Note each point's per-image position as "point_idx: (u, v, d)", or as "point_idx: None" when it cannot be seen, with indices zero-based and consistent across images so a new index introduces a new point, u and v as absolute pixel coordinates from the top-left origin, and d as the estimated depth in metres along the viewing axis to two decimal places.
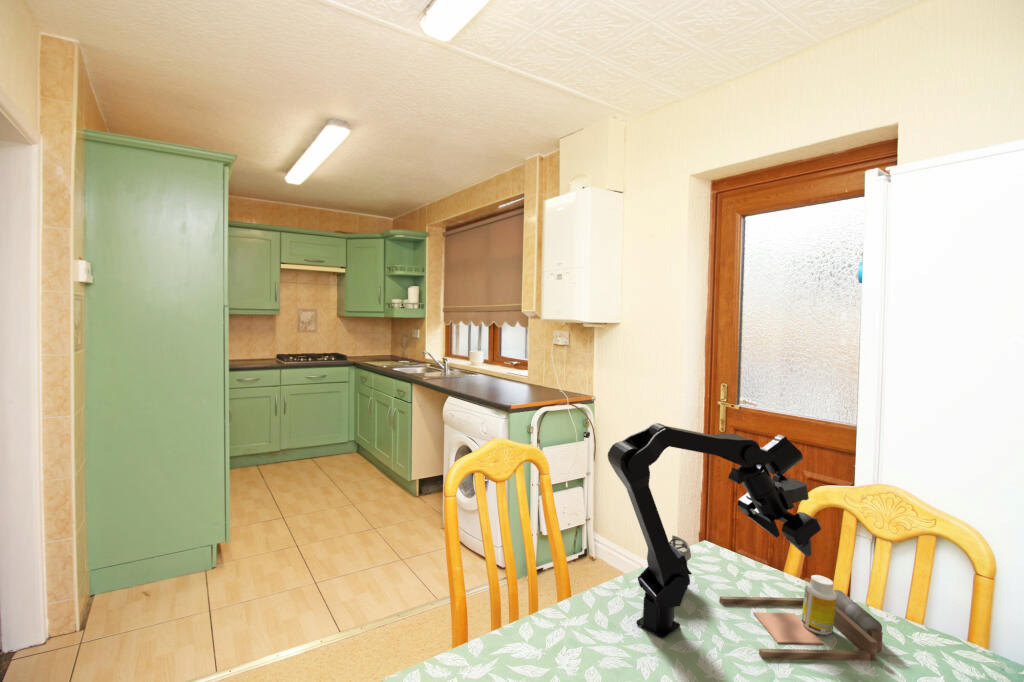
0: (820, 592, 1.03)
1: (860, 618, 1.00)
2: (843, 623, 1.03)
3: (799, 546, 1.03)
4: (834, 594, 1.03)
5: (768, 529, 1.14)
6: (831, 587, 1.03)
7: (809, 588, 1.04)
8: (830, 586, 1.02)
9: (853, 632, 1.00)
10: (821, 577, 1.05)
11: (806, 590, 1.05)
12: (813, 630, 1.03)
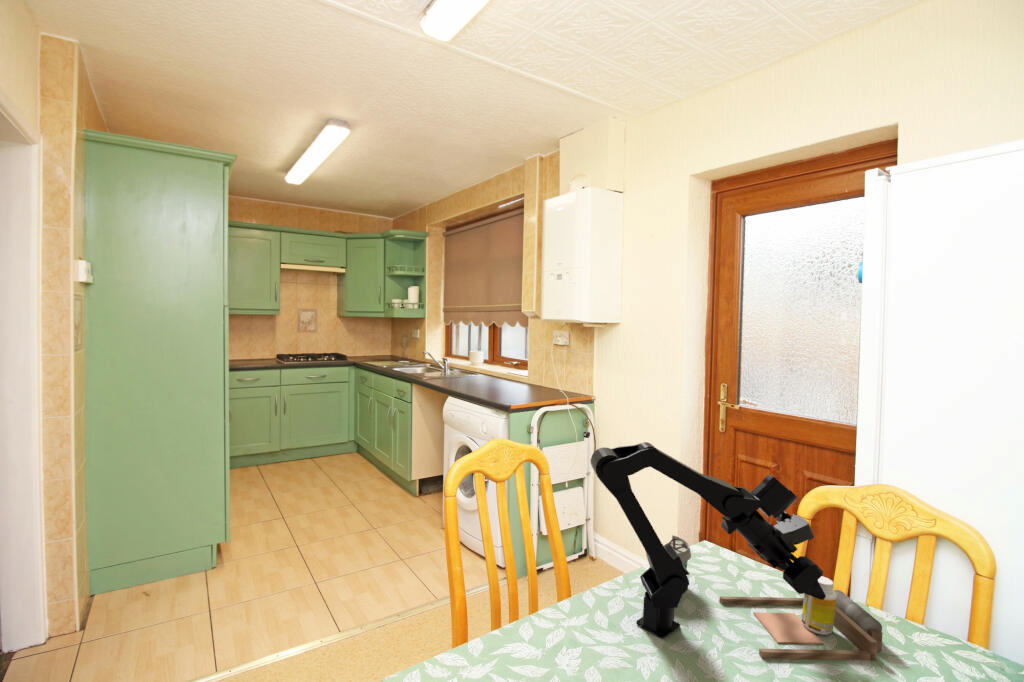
0: None
1: (860, 618, 1.00)
2: (843, 623, 1.03)
3: (807, 592, 0.98)
4: (834, 594, 1.03)
5: (784, 568, 1.09)
6: (831, 587, 1.03)
7: None
8: (830, 586, 1.02)
9: (853, 632, 1.00)
10: (821, 577, 1.05)
11: None
12: (813, 630, 1.03)
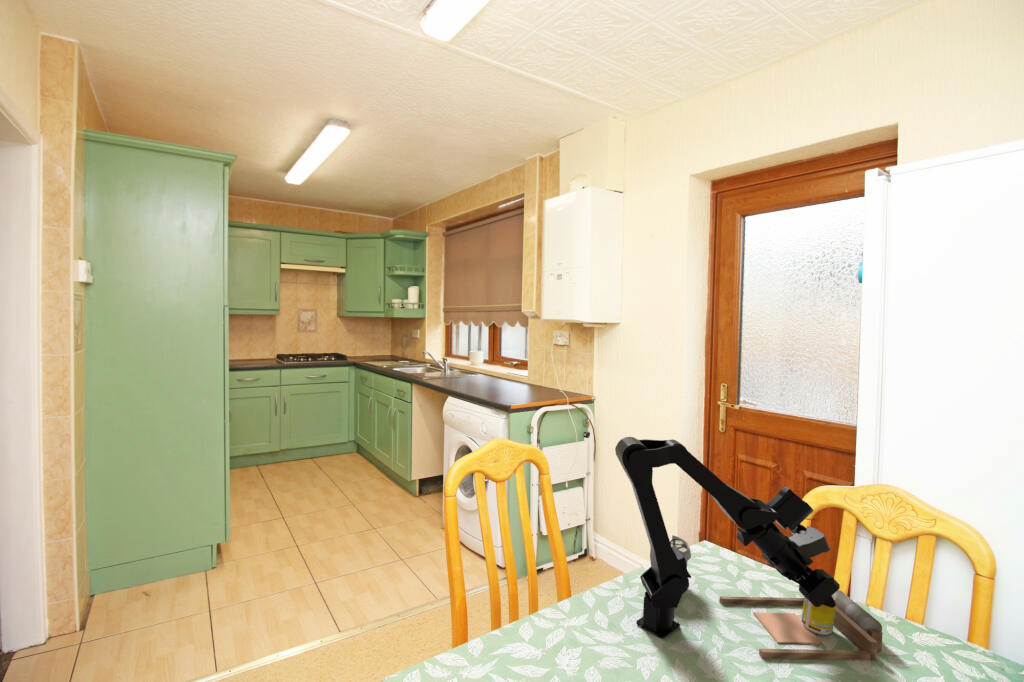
0: None
1: (860, 618, 1.00)
2: (843, 623, 1.03)
3: None
4: (834, 594, 1.03)
5: None
6: None
7: None
8: None
9: (853, 632, 1.00)
10: None
11: None
12: (813, 630, 1.03)
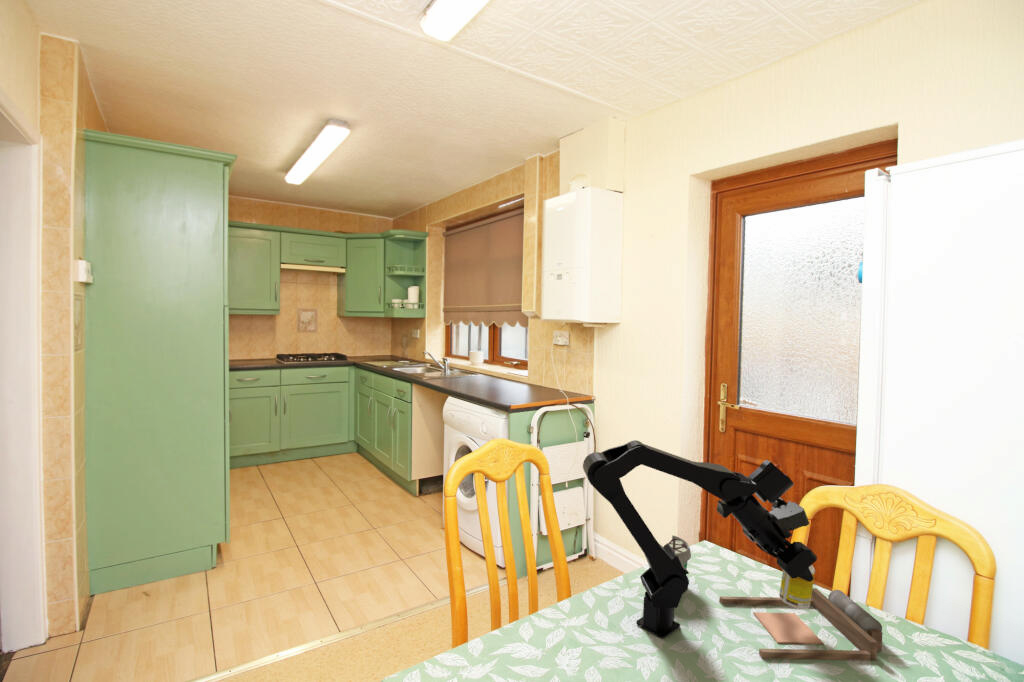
0: None
1: (860, 618, 1.00)
2: (843, 623, 1.03)
3: None
4: (812, 569, 1.02)
5: None
6: None
7: None
8: None
9: (853, 632, 1.00)
10: None
11: None
12: (790, 604, 1.02)
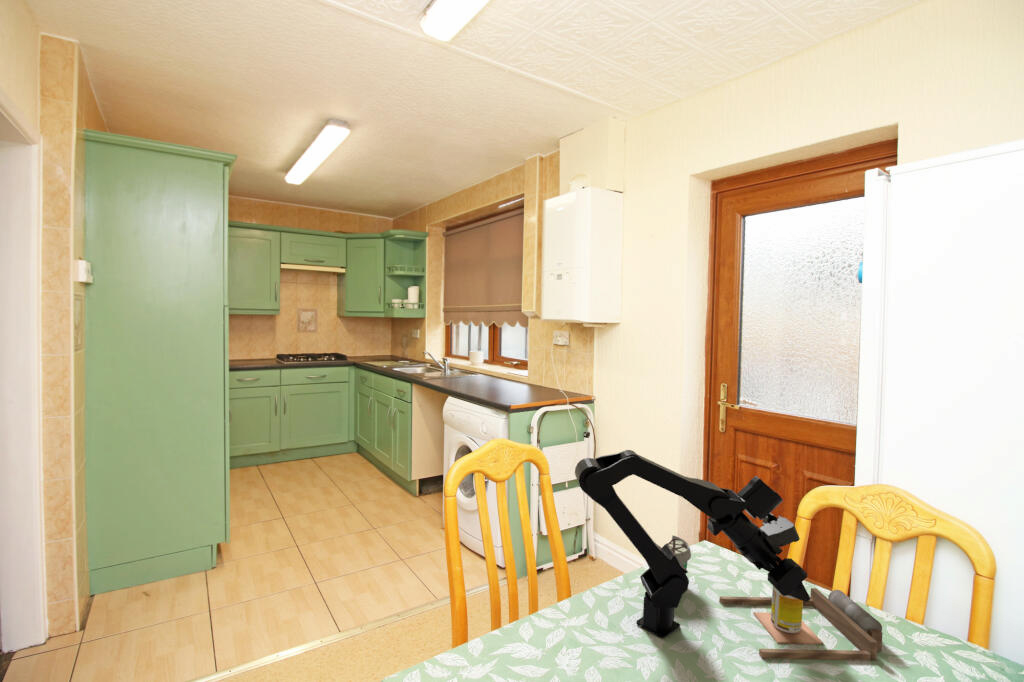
0: None
1: (860, 618, 1.00)
2: (843, 623, 1.03)
3: (791, 594, 0.98)
4: None
5: (770, 570, 1.09)
6: None
7: None
8: None
9: (853, 632, 1.00)
10: None
11: (773, 589, 1.05)
12: (782, 629, 1.03)
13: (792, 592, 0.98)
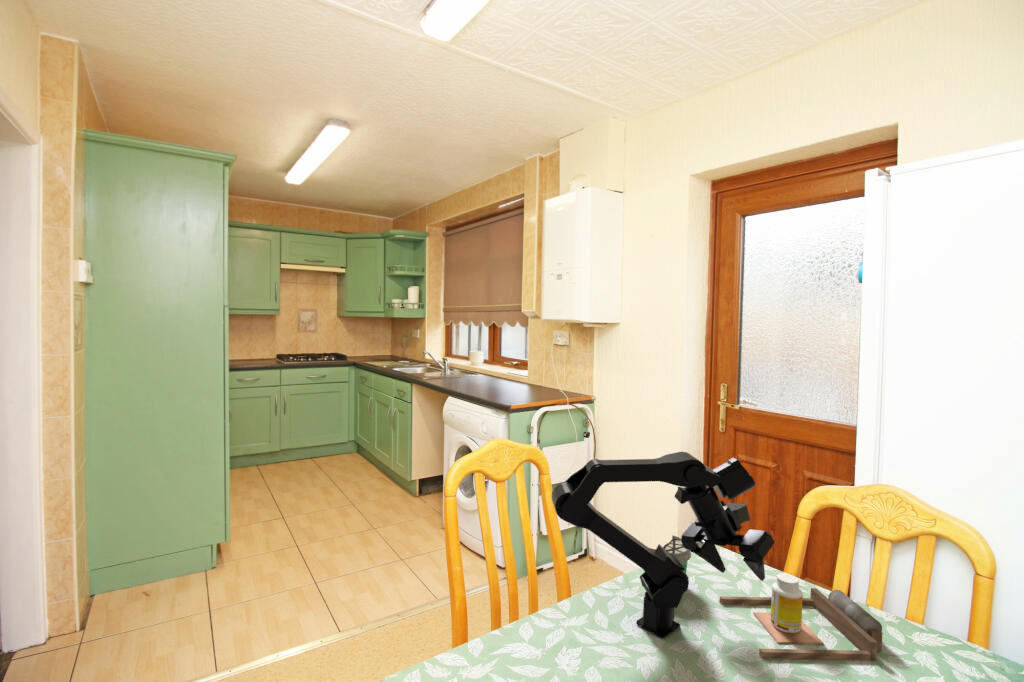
0: (786, 591, 1.03)
1: (860, 618, 1.00)
2: (843, 623, 1.03)
3: (756, 567, 0.98)
4: (800, 592, 1.03)
5: (715, 563, 1.08)
6: (796, 585, 1.03)
7: (776, 587, 1.04)
8: (795, 584, 1.02)
9: (853, 632, 1.00)
10: (787, 575, 1.05)
11: (773, 590, 1.05)
12: (782, 629, 1.03)
13: (757, 565, 0.99)
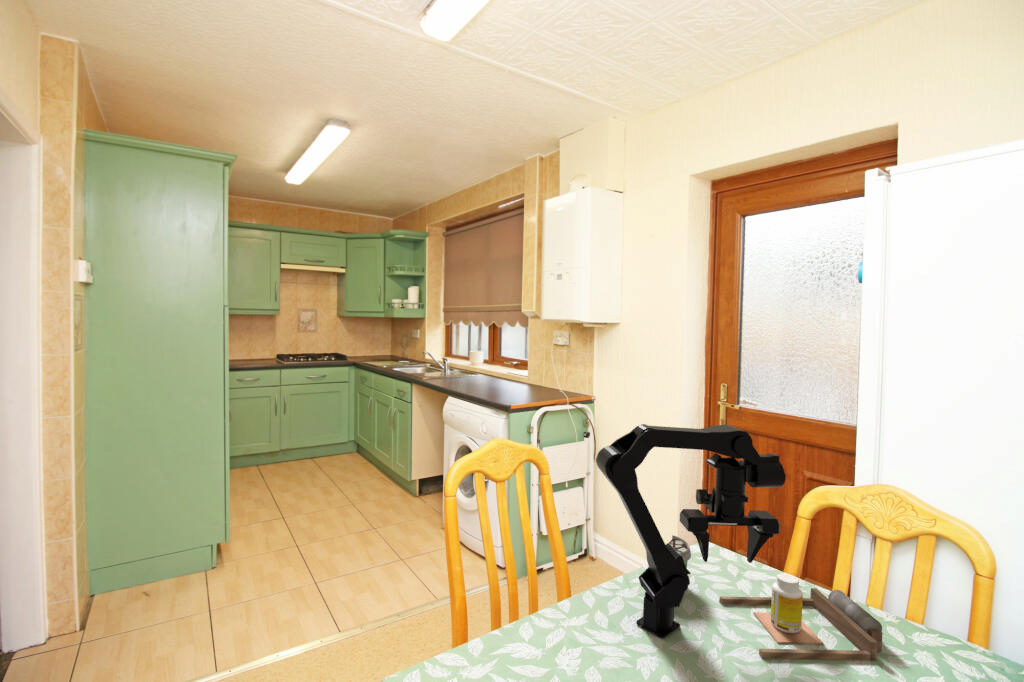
0: (786, 591, 1.03)
1: (860, 618, 1.00)
2: (843, 623, 1.03)
3: None
4: (800, 592, 1.03)
5: None
6: (796, 585, 1.03)
7: (776, 587, 1.04)
8: (795, 584, 1.02)
9: (853, 632, 1.00)
10: (787, 575, 1.05)
11: (773, 589, 1.05)
12: (782, 629, 1.03)
13: None
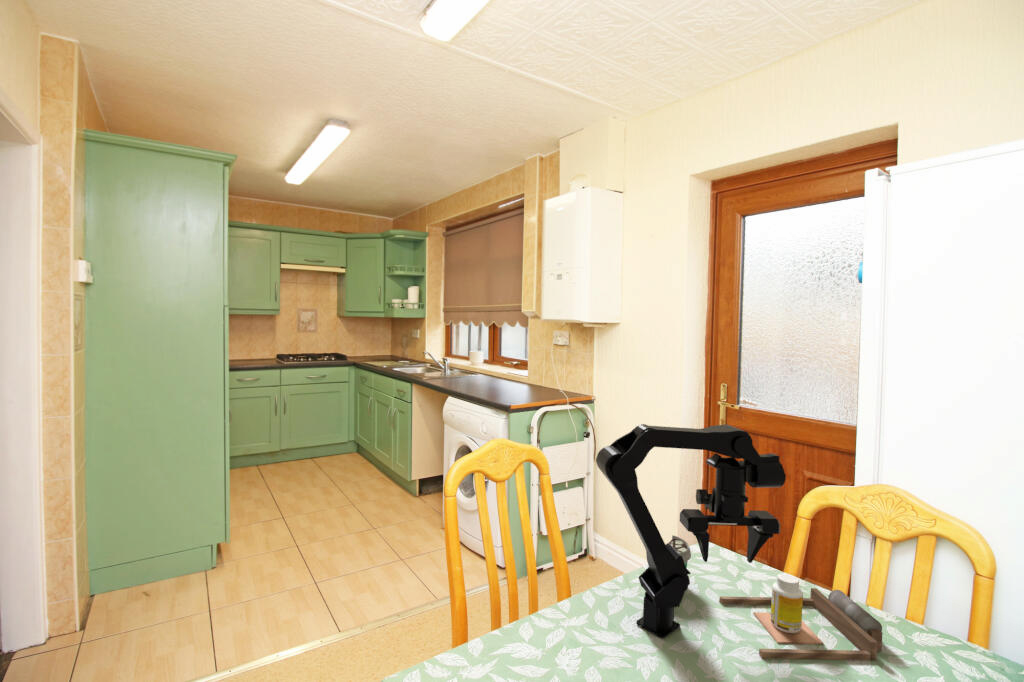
0: (786, 591, 1.03)
1: (860, 618, 1.00)
2: (843, 623, 1.03)
3: None
4: (800, 592, 1.03)
5: None
6: (797, 585, 1.03)
7: (776, 587, 1.04)
8: (795, 584, 1.02)
9: (853, 632, 1.00)
10: (787, 575, 1.05)
11: (773, 589, 1.05)
12: (782, 629, 1.03)
13: None
